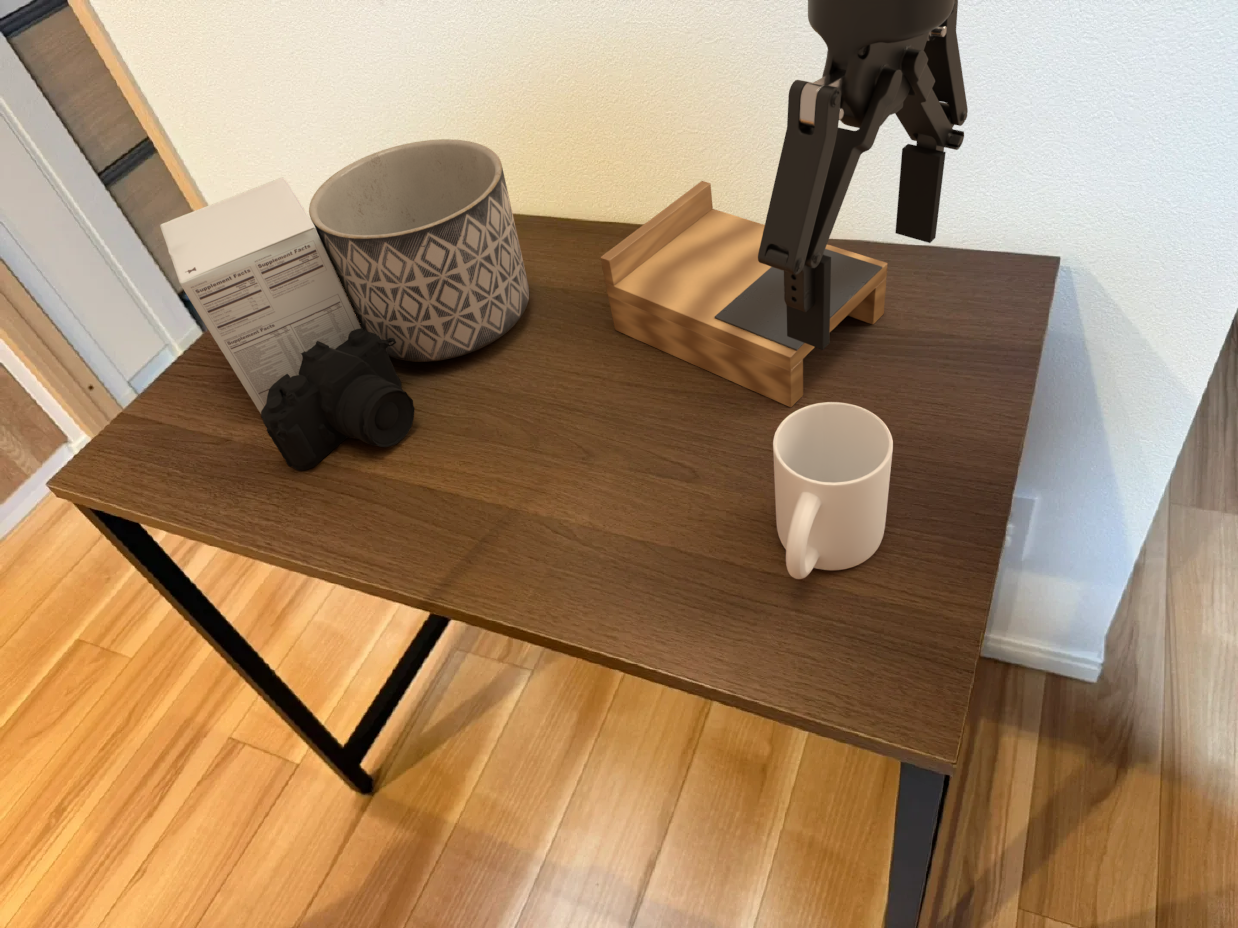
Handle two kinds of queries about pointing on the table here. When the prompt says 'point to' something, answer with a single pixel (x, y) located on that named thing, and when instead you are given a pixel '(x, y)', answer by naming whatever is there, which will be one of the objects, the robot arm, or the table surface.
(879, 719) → the table surface
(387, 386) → the film camera
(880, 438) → the mug
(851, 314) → the shelf
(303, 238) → the supplement box
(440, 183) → the planter
